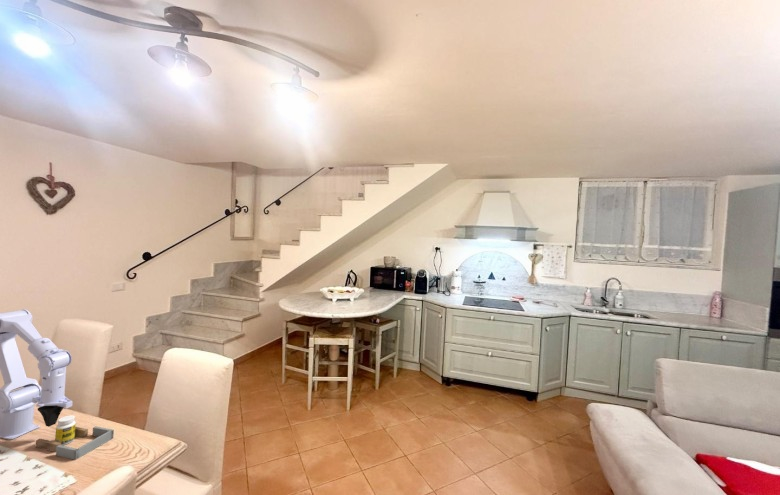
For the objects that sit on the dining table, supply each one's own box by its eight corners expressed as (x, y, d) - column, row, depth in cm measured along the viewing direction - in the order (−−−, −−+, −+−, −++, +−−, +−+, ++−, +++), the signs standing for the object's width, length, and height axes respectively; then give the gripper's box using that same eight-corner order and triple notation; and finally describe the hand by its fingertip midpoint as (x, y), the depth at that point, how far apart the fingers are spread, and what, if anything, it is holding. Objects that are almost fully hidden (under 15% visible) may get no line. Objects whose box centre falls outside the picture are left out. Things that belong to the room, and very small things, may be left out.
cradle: (55, 455, 100) (56, 446, 100) (94, 434, 112) (95, 426, 112) (75, 459, 99) (76, 450, 99) (113, 437, 111) (113, 429, 111)
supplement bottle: (61, 447, 104) (62, 423, 104) (50, 444, 105) (52, 420, 105) (78, 439, 109) (79, 415, 109) (68, 436, 110) (69, 413, 110)
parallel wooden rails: (35, 447, 103) (36, 440, 103) (67, 431, 112) (67, 425, 112) (57, 451, 102) (57, 444, 102) (87, 435, 111) (88, 429, 111)
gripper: (22, 389, 105) (19, 428, 105) (56, 395, 103) (53, 434, 103) (47, 380, 112) (45, 416, 112) (80, 385, 110) (77, 423, 110)
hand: (51, 424), depth 108 cm, fingers closed
